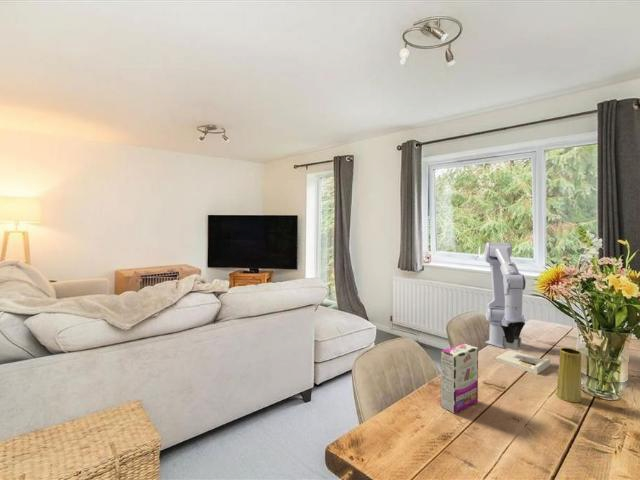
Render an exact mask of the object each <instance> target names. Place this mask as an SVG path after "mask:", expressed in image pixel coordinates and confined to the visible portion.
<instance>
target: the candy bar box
mask: <svg viewBox="0 0 640 480" xmlns="http://www.w3.org/2000/svg"><path fill="white" fill-rule="evenodd" d="M478 385H479V347H477V346H474V345H472V344H471V345H470V344H468V343H462V344H458V345H455V346H451V347H449V348H447V349H443V350H440V407H441V408H443V409H444V410H447V411H448V412H450V413H451V414H454V415H456V414H458V413H460V412H462V411H464V410H466V409H468V408H470V407H471V406H473V405H475V404H478V401H479V400H478V398H479V396H478V394H479V386H478Z"/></svg>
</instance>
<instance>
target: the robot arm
mask: <svg viewBox="0 0 640 480" xmlns="http://www.w3.org/2000/svg"><path fill="white" fill-rule="evenodd" d="M512 253H513V246H512V243H510V242H488V241H487V242H486V243H485V245H484V259H485V262H486V263H487V264H489V267H490V279H491V293H492V300H490V301H489V302H488V303H486V305H485V319H486V321H487V322H488V323H489V336H488V337H489V339H488V340H486V341H485V344H488V345H491V346H496V347H499V348H503V349H504V348H506V347H503V336H505V338H506V342H508V343H513V341H514V336H516V337H520V336H521V332H522V330H523V328H524V326H526V319H525V318H524V317H525V315H524V314H523V291H524V290H525V289H526V281H527V280H526V277H525V275H524V274H522V273H521V272H519V270H518V267H517V265H516V263H514V262H513V261H512V259H511V256H512Z"/></svg>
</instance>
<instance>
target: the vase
mask: <svg viewBox="0 0 640 480" xmlns="http://www.w3.org/2000/svg"><path fill="white" fill-rule="evenodd" d="M558 365H559V366H558V370H557V373H558V374H557V381H556V382H557V384H556V385H557V387H556V396H557V398H560V399H561V400H562V401H566V402H570V403H580V402H581V401H582V352H581V351H580V350H578V349H575V348H572V347H571V348H570V347H561V348H560V349H559V364H558Z"/></svg>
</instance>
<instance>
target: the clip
mask: <svg viewBox="0 0 640 480" xmlns="http://www.w3.org/2000/svg"><path fill="white" fill-rule="evenodd" d="M503 347H505V348H506V349H510V350H512V351H518V350H520V349H521V348H522V337H520V336H519V337H516V336H514V341H513V343H508V342H506V338H505V336H503Z"/></svg>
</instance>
